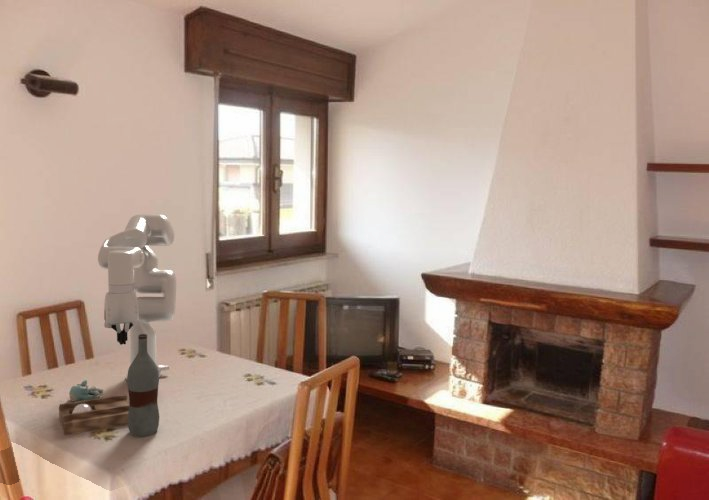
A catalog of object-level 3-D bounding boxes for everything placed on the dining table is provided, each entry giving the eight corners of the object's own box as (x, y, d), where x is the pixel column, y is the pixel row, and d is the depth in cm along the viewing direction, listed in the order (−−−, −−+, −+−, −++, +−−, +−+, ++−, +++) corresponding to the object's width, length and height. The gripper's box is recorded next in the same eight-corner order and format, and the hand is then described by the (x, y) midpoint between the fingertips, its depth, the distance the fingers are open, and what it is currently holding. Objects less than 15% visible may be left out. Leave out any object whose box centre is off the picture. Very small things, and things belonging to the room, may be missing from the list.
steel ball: (72, 400, 185) (65, 417, 185) (80, 409, 181) (73, 427, 181) (91, 400, 189) (84, 417, 190) (98, 409, 186) (91, 427, 186)
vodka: (160, 435, 178) (159, 337, 175) (127, 439, 175) (126, 339, 171) (158, 423, 187) (158, 330, 183) (127, 427, 183) (126, 332, 180)
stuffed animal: (112, 381, 209) (82, 384, 199) (109, 402, 209) (79, 405, 198) (93, 376, 214) (62, 378, 204) (90, 395, 214) (59, 399, 204)
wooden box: (124, 406, 200) (124, 391, 200) (134, 422, 187) (134, 407, 186) (59, 416, 190) (58, 401, 189) (64, 435, 176) (64, 419, 176)
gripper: (142, 284, 199) (143, 337, 202) (94, 288, 191) (95, 343, 194) (147, 288, 193) (148, 343, 195) (98, 292, 185) (99, 349, 187)
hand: (122, 343), depth 194 cm, fingers closed
